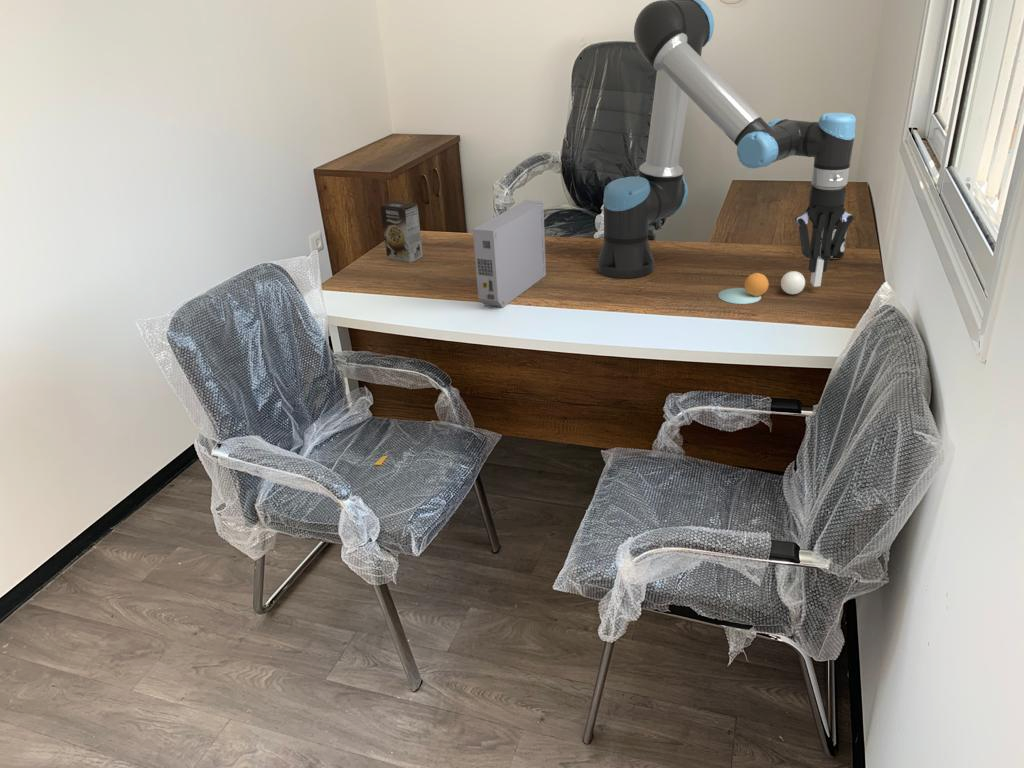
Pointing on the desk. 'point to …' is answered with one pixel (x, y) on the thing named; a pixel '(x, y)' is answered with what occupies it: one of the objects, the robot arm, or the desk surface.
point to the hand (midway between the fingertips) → (815, 284)
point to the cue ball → (793, 282)
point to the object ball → (756, 284)
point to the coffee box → (401, 231)
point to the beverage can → (842, 247)
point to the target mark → (737, 296)
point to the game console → (510, 253)
